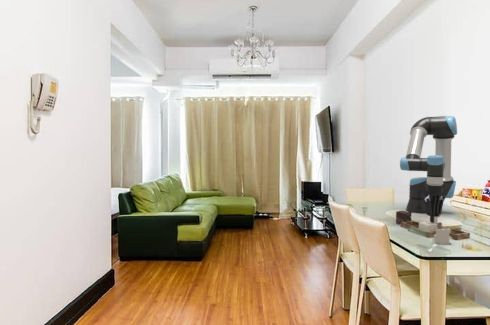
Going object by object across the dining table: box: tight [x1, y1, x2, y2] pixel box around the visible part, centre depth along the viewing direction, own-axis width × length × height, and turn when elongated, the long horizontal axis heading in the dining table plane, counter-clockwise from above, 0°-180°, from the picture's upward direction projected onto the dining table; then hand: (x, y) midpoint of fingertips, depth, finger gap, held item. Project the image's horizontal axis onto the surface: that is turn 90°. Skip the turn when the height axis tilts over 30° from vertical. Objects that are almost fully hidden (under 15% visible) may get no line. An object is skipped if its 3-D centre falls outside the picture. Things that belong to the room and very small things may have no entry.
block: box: [419, 221, 438, 232], centre depth 167 cm, size 6×6×5 cm
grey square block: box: [433, 228, 453, 245], centre depth 150 cm, size 3×7×7 cm, turn 72°
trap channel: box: [399, 220, 471, 241], centre depth 168 cm, size 23×28×2 cm
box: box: [395, 210, 413, 225], centre depth 184 cm, size 6×6×7 cm
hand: (433, 228), depth 168 cm, fingers closed
